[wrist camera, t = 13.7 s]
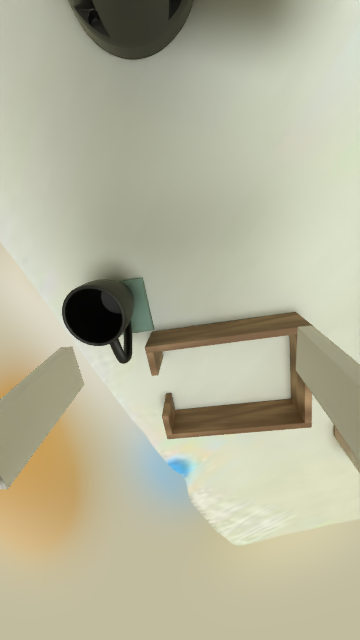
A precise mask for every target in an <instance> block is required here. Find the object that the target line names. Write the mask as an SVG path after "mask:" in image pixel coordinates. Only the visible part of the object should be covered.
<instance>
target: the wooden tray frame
mask: <svg viewBox="0 0 360 640" xmlns="http://www.w3.org/2000/svg"><path fill="white" fill-rule="evenodd" d="M301 326H313V325H311V324H310V323H309V322H308V321H306V320H305V319H304V318H303V317H301V316H300V315H299V314H297V313H296V312H292V313H284V314H277V315H270V316H263V317H256V318H248V319H241V320H234V321H227V322H220V323H212V324H205V325H198V326H191V327H184V328H177V329H169V330H162V331H155V332H152V333H151V335H150V337H149V339H148V342H147V344H146V346H145V350H146V354H147V358H148V362H149V366H150V370H151V374H152V376H154V375H158V374H159V370H160V366H161V363H162V359H163V354H162V351H168V350H176V349H184V348H192V347H199V346H207V345H215V344H223V343H231V342H238V341H246V340H254V339H262V338H270V337H277V336H285V335H290V370H291V399H284V400H274V401H263V402H253V403H243V404H232V405H222V406H212V407H202V408H191V409H181V410H175V407H174V403H173V398H172V394H171V393H169V394H166V398H165V403H164V408H163V414H162V419H163V423H164V427H165V431H166V435H167V439H175V438H187V437H199V436H212V435H224V434H236V433H248V432H260V431H272V430H284V429H297V428H309V427H311V426H312V392H311V391H310V390H309V388H308V387H307V385H306V384H305V383H304V381H303V380H302V378H301V377H300V375H299V374H298V373H297V371H296V352H297V331H298V327H301Z"/></svg>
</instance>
